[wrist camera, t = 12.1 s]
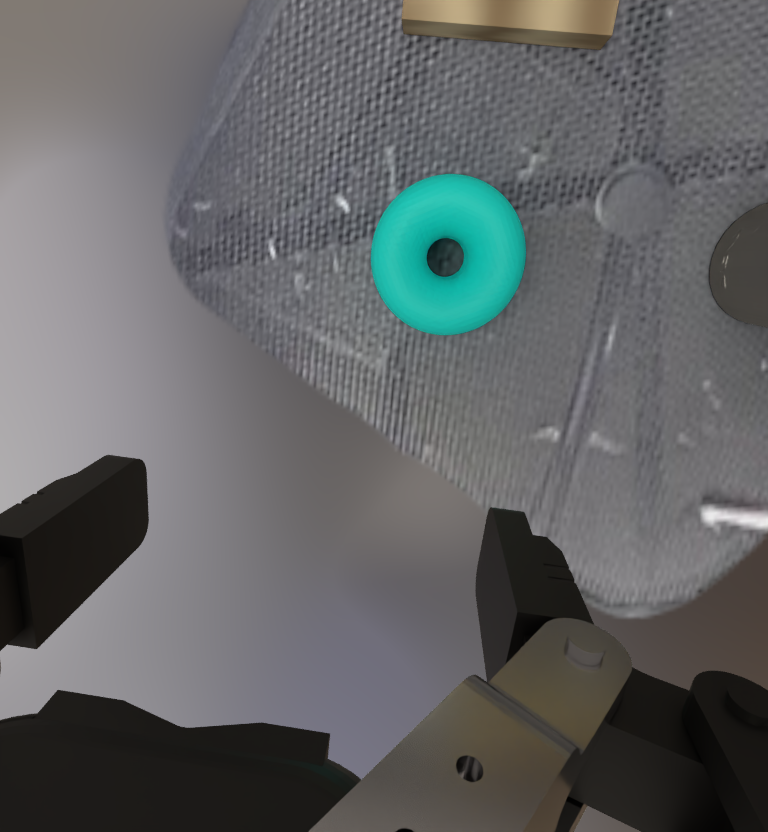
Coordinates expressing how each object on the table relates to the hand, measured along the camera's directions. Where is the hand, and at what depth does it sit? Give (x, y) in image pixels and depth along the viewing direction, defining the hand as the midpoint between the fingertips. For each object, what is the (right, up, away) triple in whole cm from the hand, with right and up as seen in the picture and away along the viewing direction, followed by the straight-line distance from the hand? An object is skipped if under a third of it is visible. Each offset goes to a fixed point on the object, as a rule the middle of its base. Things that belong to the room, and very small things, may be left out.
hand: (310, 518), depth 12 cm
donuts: (+7, +15, +30) cm, 34 cm away
